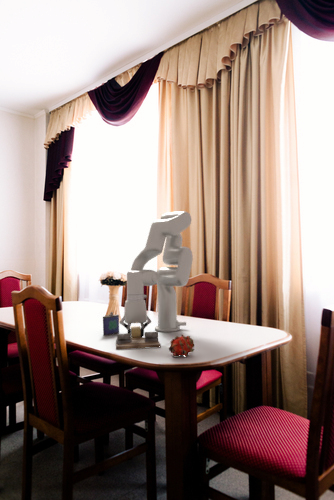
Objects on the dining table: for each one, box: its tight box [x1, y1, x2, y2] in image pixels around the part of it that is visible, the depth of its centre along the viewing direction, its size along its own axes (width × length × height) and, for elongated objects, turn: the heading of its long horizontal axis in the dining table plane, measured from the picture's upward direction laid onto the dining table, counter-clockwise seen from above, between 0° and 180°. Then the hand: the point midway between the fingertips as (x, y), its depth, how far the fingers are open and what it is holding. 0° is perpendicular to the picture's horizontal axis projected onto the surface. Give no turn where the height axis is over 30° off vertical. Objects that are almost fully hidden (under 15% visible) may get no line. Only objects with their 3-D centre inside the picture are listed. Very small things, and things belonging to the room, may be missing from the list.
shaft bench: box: [115, 331, 161, 350], centre depth 160 cm, size 18×14×5 cm
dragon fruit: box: [168, 334, 195, 357], centre depth 141 cm, size 8×8×12 cm
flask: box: [102, 311, 120, 337], centre depth 181 cm, size 9×3×11 cm, turn 138°
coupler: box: [130, 325, 141, 338], centre depth 171 cm, size 5×4×5 cm
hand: (135, 337), depth 171 cm, fingers open, 4 cm apart
